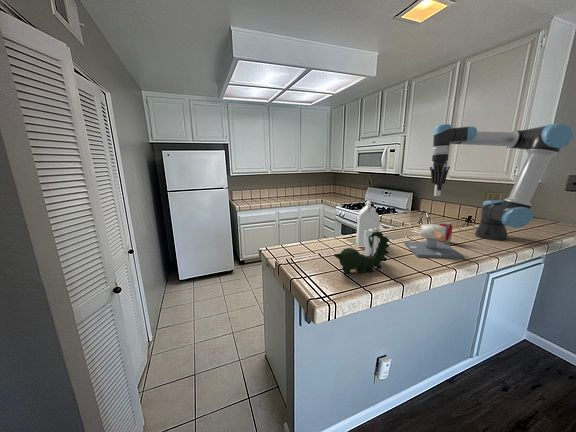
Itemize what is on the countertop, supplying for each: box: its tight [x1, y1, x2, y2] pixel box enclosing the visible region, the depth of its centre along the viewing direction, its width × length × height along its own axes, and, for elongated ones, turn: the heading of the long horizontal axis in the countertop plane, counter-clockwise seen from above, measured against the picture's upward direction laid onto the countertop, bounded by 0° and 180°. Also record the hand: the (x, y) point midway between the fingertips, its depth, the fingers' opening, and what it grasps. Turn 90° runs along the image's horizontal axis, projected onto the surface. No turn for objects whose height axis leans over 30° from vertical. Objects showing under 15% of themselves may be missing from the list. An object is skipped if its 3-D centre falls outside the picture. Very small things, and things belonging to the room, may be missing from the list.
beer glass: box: [364, 228, 380, 256], centre depth 113 cm, size 7×7×15 cm
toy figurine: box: [333, 231, 391, 274], centre depth 100 cm, size 9×19×25 cm
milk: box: [355, 200, 380, 247], centre depth 133 cm, size 12×12×26 cm
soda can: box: [437, 221, 453, 245], centre depth 134 cm, size 7×7×12 cm
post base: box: [403, 237, 465, 260], centre depth 122 cm, size 21×21×8 cm
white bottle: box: [419, 223, 446, 242], centre depth 116 cm, size 22×11×5 cm, turn 162°
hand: (437, 195), depth 131 cm, fingers closed
